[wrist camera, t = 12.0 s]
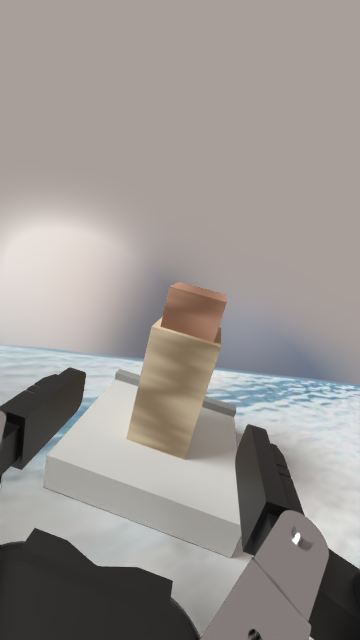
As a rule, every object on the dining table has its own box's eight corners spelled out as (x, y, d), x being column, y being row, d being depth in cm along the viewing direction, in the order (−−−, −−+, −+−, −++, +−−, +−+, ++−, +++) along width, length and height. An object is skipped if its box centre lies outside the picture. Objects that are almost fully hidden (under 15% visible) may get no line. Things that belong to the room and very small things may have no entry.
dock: (43, 486, 17) (48, 445, 16) (114, 396, 28) (119, 369, 27) (230, 557, 16) (249, 518, 15) (225, 432, 27) (235, 405, 26)
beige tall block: (126, 439, 19) (161, 285, 16) (145, 403, 24) (175, 280, 20) (184, 459, 18) (234, 305, 15) (191, 419, 23) (230, 295, 20)
